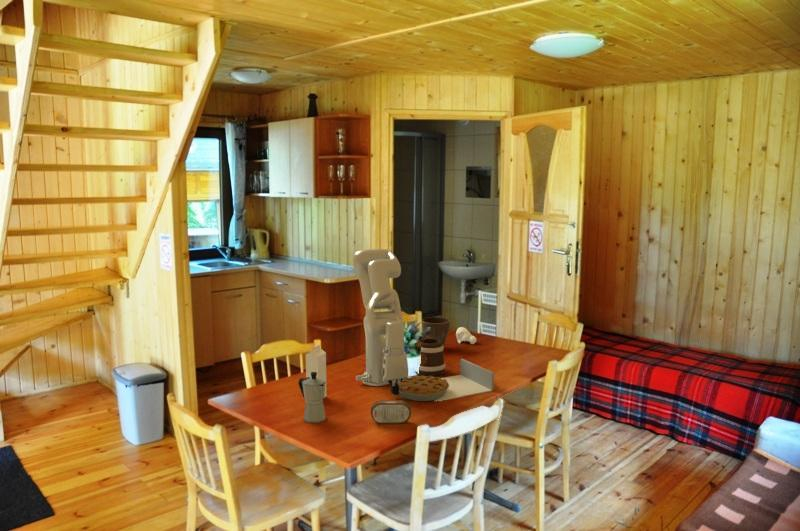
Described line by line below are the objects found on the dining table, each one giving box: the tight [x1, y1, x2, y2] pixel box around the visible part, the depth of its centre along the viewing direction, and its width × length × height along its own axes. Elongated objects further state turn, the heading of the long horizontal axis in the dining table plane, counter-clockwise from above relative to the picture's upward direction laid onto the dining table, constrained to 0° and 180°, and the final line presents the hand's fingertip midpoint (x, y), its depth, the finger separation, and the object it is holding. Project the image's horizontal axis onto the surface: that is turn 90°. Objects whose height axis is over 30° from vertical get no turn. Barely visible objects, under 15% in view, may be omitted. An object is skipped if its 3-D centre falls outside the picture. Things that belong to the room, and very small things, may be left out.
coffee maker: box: [298, 372, 327, 424], centre depth 231 cm, size 15×9×18 cm, turn 48°
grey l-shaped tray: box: [433, 358, 495, 403], centre depth 266 cm, size 29×24×9 cm
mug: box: [419, 338, 447, 377], centre depth 290 cm, size 20×15×15 cm
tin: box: [370, 399, 412, 425], centre depth 227 cm, size 15×3×8 cm, turn 92°
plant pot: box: [421, 316, 451, 346], centre depth 328 cm, size 15×15×16 cm
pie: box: [398, 375, 449, 402], centre depth 258 cm, size 22×22×5 cm
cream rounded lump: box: [455, 326, 477, 345], centre depth 341 cm, size 6×8×12 cm
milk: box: [305, 344, 327, 399], centre depth 252 cm, size 6×6×22 cm
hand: (395, 394), depth 253 cm, fingers closed
